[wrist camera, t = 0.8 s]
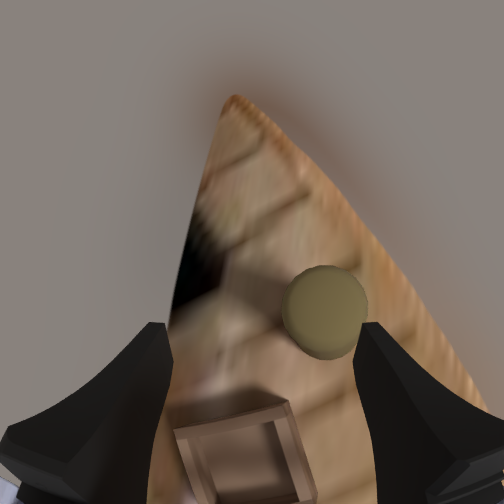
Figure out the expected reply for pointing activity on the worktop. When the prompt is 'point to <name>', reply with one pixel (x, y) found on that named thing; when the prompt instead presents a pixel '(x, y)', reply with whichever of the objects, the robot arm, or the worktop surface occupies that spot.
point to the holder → (247, 459)
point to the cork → (325, 311)
